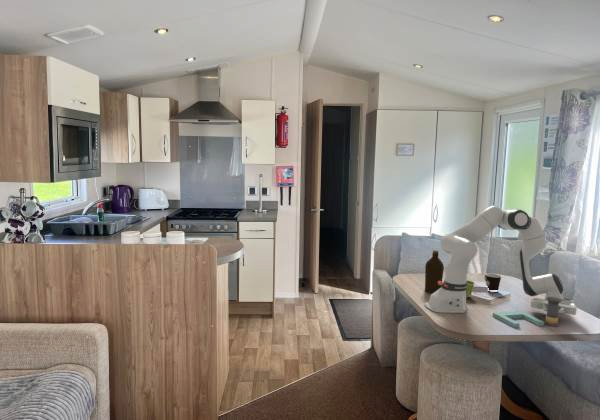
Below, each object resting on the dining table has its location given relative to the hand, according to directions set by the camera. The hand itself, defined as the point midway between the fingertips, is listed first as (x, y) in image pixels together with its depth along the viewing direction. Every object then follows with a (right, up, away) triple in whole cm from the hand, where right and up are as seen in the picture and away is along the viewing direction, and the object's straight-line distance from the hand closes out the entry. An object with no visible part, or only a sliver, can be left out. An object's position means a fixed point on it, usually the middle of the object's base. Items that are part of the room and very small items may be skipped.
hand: (552, 310), depth 226 cm
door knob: (0, -7, +2) cm, 7 cm away
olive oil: (-44, 0, +51) cm, 67 cm away
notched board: (-15, -6, +5) cm, 17 cm away
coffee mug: (-7, 0, +56) cm, 57 cm away
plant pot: (-28, -1, +43) cm, 51 cm away
